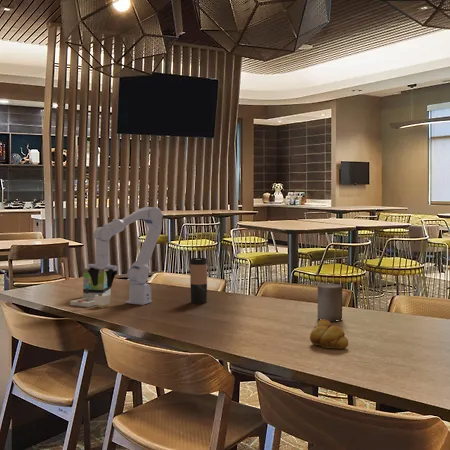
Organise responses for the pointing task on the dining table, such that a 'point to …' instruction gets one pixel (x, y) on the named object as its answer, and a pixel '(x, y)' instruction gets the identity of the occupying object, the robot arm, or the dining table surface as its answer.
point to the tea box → (100, 288)
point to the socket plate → (83, 302)
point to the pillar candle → (330, 302)
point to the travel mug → (198, 280)
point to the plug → (102, 300)
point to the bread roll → (328, 335)
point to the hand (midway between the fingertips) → (102, 286)
